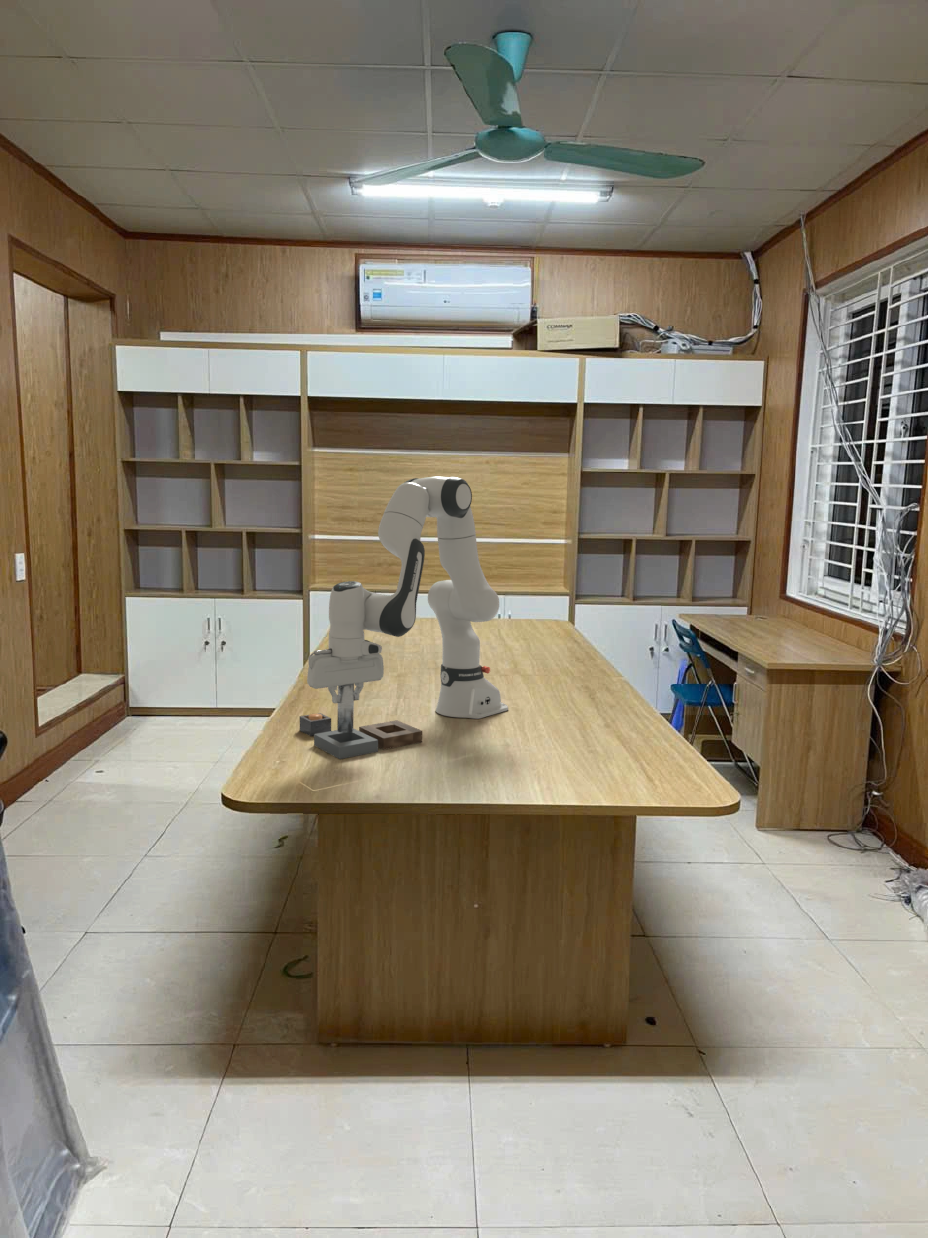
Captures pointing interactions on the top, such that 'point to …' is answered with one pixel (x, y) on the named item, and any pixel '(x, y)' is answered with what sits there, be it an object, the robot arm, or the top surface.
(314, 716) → the brown egg
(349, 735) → the block
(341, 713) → the grey metal cylinder
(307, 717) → the dark grey open box
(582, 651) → the top surface
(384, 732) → the socket block
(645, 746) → the top surface
